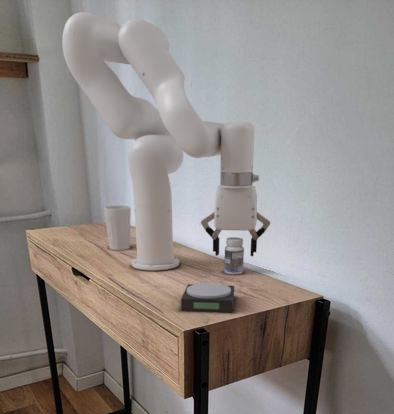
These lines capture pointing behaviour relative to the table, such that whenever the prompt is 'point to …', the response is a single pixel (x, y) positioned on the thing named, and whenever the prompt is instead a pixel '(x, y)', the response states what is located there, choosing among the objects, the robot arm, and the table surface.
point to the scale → (208, 297)
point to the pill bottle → (234, 256)
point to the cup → (118, 226)
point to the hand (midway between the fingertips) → (234, 254)
